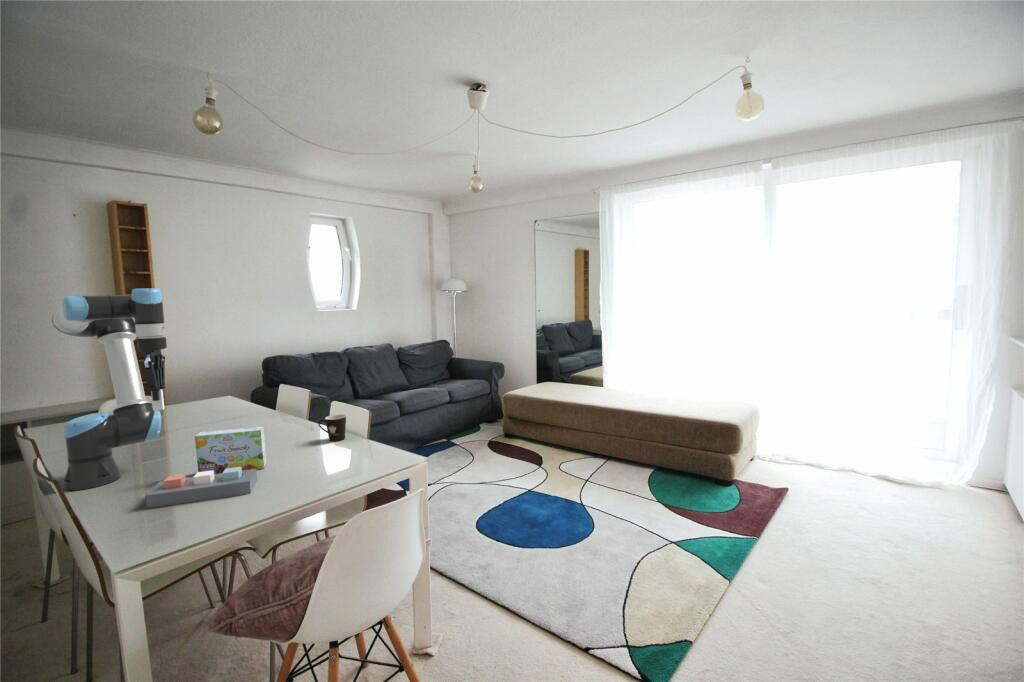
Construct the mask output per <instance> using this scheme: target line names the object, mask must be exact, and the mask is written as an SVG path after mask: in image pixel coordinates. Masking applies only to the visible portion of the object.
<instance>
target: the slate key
mask: <svg viewBox="0 0 1024 682" xmlns="http://www.w3.org/2000/svg"><path fill="white" fill-rule="evenodd" d="M222 477H223V481H230V480H237V479H241V477H242V468H241V467H235V468H227V469H225V470H224V472H223V473H222Z"/></svg>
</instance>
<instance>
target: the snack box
mask: <svg viewBox="0 0 1024 682" xmlns="http://www.w3.org/2000/svg"><path fill="white" fill-rule="evenodd" d="M265 440H266V439H265V430H264V426H253V427H251V426H250V427H240V428H231V429H220V430H219V429H218V430H209V431H208V430H207V431H199V432H198V433H197V434H195V435H194V443H195V452H196V461H197V462H196V463H197V472H204V471H211V470H214V474H219V473H223V472H224V470H225V469H227V468H235V467H241V468H242V470H250V469H257V471H260V469H261V470H264V469H265V468H266V466H267V465H268V464H267V452H266V451H267V450H266V443H265Z"/></svg>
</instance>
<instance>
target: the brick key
mask: <svg viewBox="0 0 1024 682" xmlns="http://www.w3.org/2000/svg"><path fill="white" fill-rule="evenodd" d="M186 478H187V476H186V473H182V474H174V475H168V476H167V477H166V478H165V479H164V480H162V481H163V483H164V489H171V488H178V487H183V486H184V485H185V484H186Z"/></svg>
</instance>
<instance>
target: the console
mask: <svg viewBox="0 0 1024 682" xmlns="http://www.w3.org/2000/svg"><path fill="white" fill-rule="evenodd" d="M257 471H258V470H257V469H250V470H242V477H241V479H237V480H230V481H223V477H222V473H219V474H214V477H215V479H214V481H213V482H212V483H208V484H200V485H194V480H193V477H194V476H191V477H186V484H185V485H184V486H183V487H178V488H171V489H164V483H163V481H164V480H160V481H159V482H158V483H156V485H155V486H153V487H152V489H150V490H149V491H148V492H147V493H146V494H145V505H146V509H153V508H158V506H160V507H165V506H166V505H167V506H174V505H179V504H180V505H181V504H185V503H186V504H187V503H193V502H199V501H206V500H207V501H208V500H214V499H215V500H216V499H219V498H229V497H234V496H240V495H248V494H251V493H253V489H254V487H255V486H256V483H257V481H258V472H257ZM167 506H166V507H167Z"/></svg>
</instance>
